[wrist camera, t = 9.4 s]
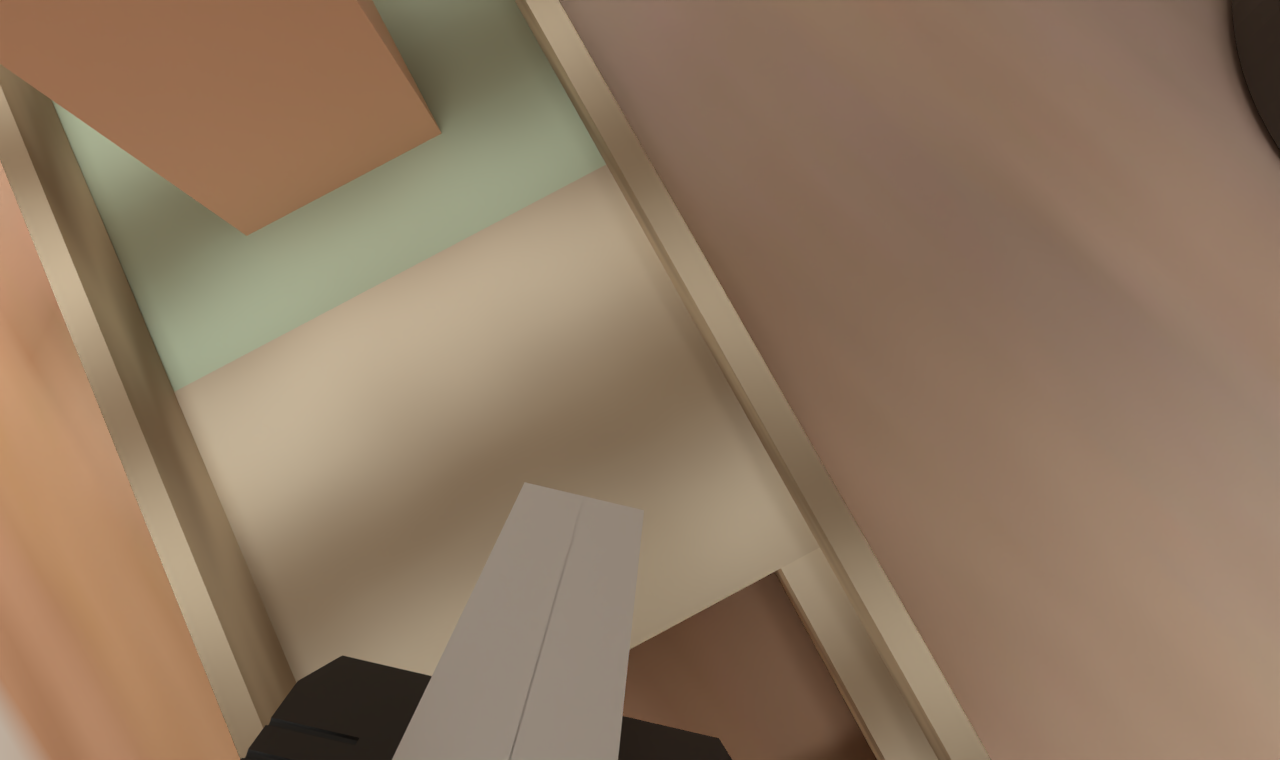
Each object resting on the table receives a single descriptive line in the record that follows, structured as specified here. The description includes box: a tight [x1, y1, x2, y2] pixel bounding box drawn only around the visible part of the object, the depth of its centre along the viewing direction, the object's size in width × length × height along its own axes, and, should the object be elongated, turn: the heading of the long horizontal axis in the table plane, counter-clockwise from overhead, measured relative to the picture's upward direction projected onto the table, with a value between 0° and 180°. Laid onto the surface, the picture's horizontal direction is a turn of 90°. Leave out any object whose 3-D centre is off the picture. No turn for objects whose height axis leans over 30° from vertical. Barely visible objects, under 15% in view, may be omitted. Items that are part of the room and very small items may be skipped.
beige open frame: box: [0, 0, 991, 760], centre depth 22 cm, size 30×12×5 cm, turn 28°
